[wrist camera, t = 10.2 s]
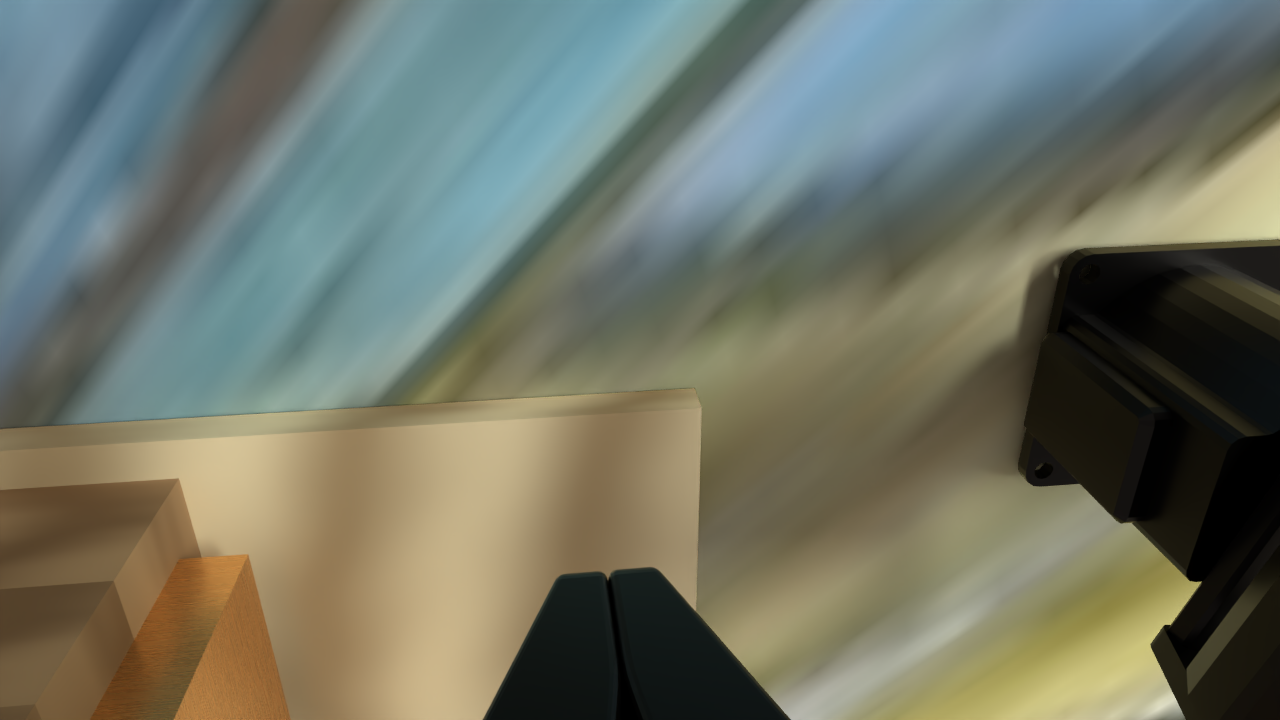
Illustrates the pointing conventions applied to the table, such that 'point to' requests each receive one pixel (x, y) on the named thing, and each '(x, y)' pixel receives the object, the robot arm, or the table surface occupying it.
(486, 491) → the hitch block
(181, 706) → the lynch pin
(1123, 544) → the table surface
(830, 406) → the table surface
